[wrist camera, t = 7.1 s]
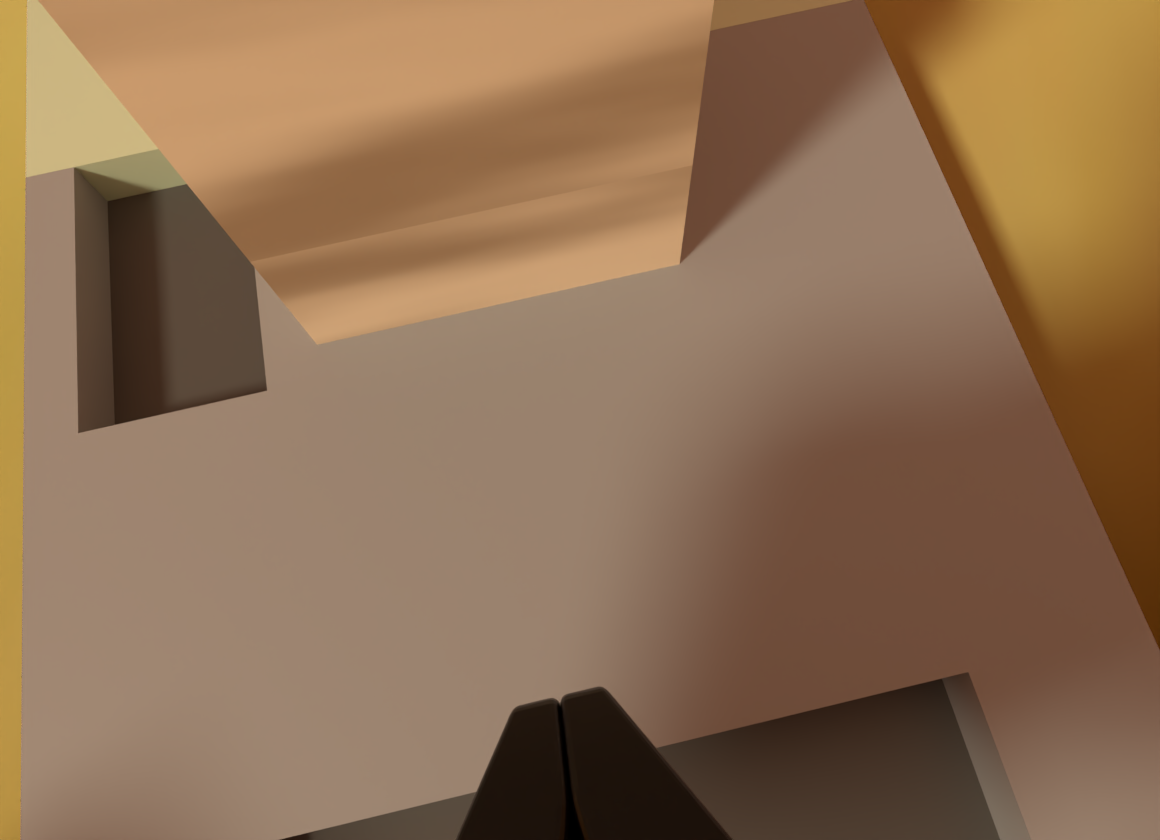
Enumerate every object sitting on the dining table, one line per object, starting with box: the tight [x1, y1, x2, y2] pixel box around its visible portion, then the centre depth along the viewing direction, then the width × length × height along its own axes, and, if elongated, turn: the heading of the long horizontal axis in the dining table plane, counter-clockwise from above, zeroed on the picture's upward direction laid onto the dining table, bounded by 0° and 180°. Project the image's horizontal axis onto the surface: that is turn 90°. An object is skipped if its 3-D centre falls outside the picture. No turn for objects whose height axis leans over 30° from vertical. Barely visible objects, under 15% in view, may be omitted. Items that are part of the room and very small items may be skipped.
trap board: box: [21, 0, 1160, 840], centre depth 15 cm, size 18×18×2 cm
